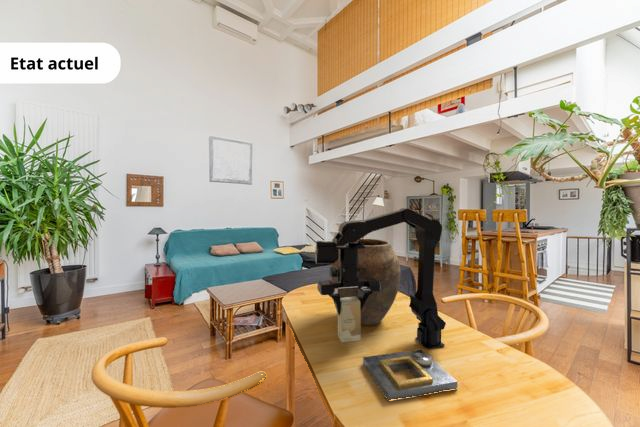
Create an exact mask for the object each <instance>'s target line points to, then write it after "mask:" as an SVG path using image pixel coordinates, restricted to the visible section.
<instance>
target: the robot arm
mask: <svg viewBox="0 0 640 427" xmlns="http://www.w3.org/2000/svg"><path fill="white" fill-rule="evenodd" d="M402 223H405V224H407V225H408V226H409V227H411V228H412V229H414V231H415V232H414V233H415V238H416V241H417V244H418V264H417V265H418V268H417V283H416V285H417V287H416V292H415V293H414V294H410V295H409V300H410V302H409V305H408V307H409V308H410V310H411V312H412V314H414V316H415V317H416V319H417V320H418V321H419V322H418V323H417V325H418V327H417V329H416V337H415V340H416V341H417V342H418V343H419V344H420V345H421V346H423V348H424V349H427V350H429V349H436V348H442V347H445V344H444V343H443V342H442V331H443V330H445V327H446V325H447V324H446V321H444V319H442V317H440V316H439V310H438V304H437V302H436V301H437V300H436V298H435V295H434V283H435V282H434V280H435V261H436V248H437V246H438V244H439V242H440V241H441V237H442V232H443V226H442V225H443V224H442V223H441V222H440V221H438V220H437V219H432V218H428V217H426V215H422V214H421V213H417V211H414V210H413V209H411V208H409V207H407V208H406V207H403V208H400V209H398V210H393V211H390V212H386V213H384V214H381V215H378V216H374V217H371V218H367V219H360V220H359V219H358V220H348V221H344V222H342V223H340V225H339V227H338V232H337V234H336V235H335V236H334V237H333V239H332V240H331V241H324V240H323V241H322V240H317V241H316V242H315V244H316V245H315V250H314V260H315V264H316V265H319V264H320V265H321V264H323V265H326V264H331V265H332V263H335V261H337V260H338V258H339V249H340V265H339V269H338V270H336V267H329V268H328V269H329V270H328V274H329V278H333V277H335V280H337V281H338V282H339V281H340V283H332V280H330V279H329V280H328V279H327V280H319V281H318V282H317V291H318V292H319V294H320V295H321V296H329V297H330V298H332V301H333V303H334V306H335V310H336V312H337V316H338V315H340V295H339V294H338V290H340V289H353V288H357V289H358V299H359V300H360V312H361V310H362V308H363V306H364V304H365V302H366V300H367V298H368V297H369V295H370V294H373V292H372V291H380V290H381V284H380V282H379V281H378V280H376V279H375V278H373V277H369V278H363V279H362V281H358V272H359V271H360V268H359V249H365V246H364V245H363V244H362V243H361V241H360V240H358V239H363V238H364V237H365V236H367V235H369V234H370V233H372V232H375V231H379V230H382V229H386V228H389V227H392V226H396V225H400V224H402ZM354 241H356V242H355V243H348V242H354ZM345 244H346V245H345Z"/></svg>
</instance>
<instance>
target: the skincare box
mask: <svg viewBox="0 0 640 427" xmlns="http://www.w3.org/2000/svg"><path fill="white" fill-rule="evenodd" d="M360 313H361V312H360V300H359V299H358V298H357V297H356V296H354V297H345V298H340V315H338V314H337V337H338V338H339V340H340V342H342V343H347V342H354V341H361V340H362V336H361V335H362V332H361V329H362V324H361V314H360Z"/></svg>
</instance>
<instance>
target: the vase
mask: <svg viewBox="0 0 640 427" xmlns="http://www.w3.org/2000/svg"><path fill="white" fill-rule="evenodd" d="M358 240H360V241H361V243H362V244H363V245H364V246H365V249H359V268H360V271H359V272H358V281H362V279H363V278H369V277H373V278H375V279H376V280H378V281H379V282H380V284H381V290H380V291H372V292H373V294H370V295H369V297H368V298H367V300H366V302H365V304H364V306H363V308H362V310H361V313H360V314H361V326H362V325H363V326H364V325H365V326H375V325H378V324H380V323H381V322H382V321H383V320H384V318H385V317H386V316H387V314H388V313H389V311H390V309H391V307H392V306H393V304H394V303H395V300H396V297H397V294H398V292H399V288H400V284H401V283H400V282H401V272H402V271H401V265H400V260H399V258H398V256H397V254H396V252H395V250H394V249H393V247H392V245H391V243H390V242H389V241H387V240H383V239H375V238H360V239H358ZM355 242H356V241H354V242H348V243H355ZM345 245H346V244H345ZM339 265H340V249H339V258H338V260H337V261H335V263H331V265H330V266H331V267H336V270H338V269H339ZM331 282H332V283H340V281H339V282H338V281H337V280H335V277H333V278H331ZM338 294H339V295H340V298H345V297H354V296H356V297H357V298H358V289H357V288H353V289H340V290H338Z"/></svg>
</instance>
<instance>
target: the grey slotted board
mask: <svg viewBox="0 0 640 427" xmlns="http://www.w3.org/2000/svg"><path fill="white" fill-rule="evenodd" d="M362 365H363V367H364V368H365V369H366V371H367V370H368V371H367V373H368V374H369V373H370V374H369V375H370V377H371V376H372V377H371V379H372V380H373V379H374V380H373V382H374V383H375V382H376V383H377V384H376V383H375V384H376V386H377V385H378V386H379V387H380V389H381V390H382V392H383V393H384V395H385V396H386V397H387V399H388V400H391V399H398V398H406V397H412V396H419V395H424V394H429V393H434V392H439V391H443V390H450V389H456V388H457V389H458V381H457V379H455V378H454V377H453V376H452V375H450V373H448V372H447V371H446V370H445V369H444V368H443V367H442V366H441V365H439V364H438V363H437V362H436V361H435V360H434V359H433V357H432V355H430V354H428V353H426V352H424V350H422V349H421V348H420V349H414V350H413V349H412V350H407V351H400V352H391V353H386V354H385V353H384V354H378V355H369V356H364V357H362ZM407 370H408V371H409V372H410V373H411V374H412V375H413V376H414V377H415V378H411V379H405V380H400V379H399V377H398V376H397V375H396V374H395V373H394V372H398V371H399V372H400V371H407ZM378 386H377V387H378ZM379 387H378V388H379ZM380 389H379V390H380ZM381 390H380V391H381ZM382 392H381V393H382ZM383 393H382V394H383ZM384 395H383V396H384ZM385 396H384V397H385ZM419 397H420V396H419ZM387 399H386V400H387Z"/></svg>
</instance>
